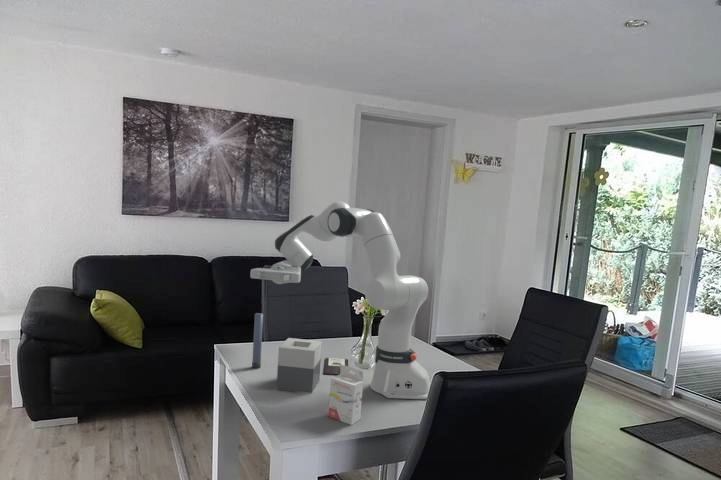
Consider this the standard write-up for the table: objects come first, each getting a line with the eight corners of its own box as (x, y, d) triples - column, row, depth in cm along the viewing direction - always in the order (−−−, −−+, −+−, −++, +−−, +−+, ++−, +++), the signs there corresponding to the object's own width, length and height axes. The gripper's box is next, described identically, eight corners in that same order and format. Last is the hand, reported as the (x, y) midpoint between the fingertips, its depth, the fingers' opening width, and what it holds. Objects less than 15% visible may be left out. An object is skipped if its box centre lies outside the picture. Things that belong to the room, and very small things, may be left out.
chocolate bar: (323, 373, 177) (325, 357, 195) (323, 375, 177) (325, 360, 195) (348, 374, 178) (348, 359, 196) (348, 377, 178) (347, 361, 196)
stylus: (261, 366, 181) (264, 313, 180) (258, 369, 178) (261, 315, 177) (253, 365, 182) (256, 312, 180) (250, 368, 179) (253, 314, 177)
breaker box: (319, 380, 171) (321, 341, 170) (312, 393, 159) (314, 351, 158) (286, 376, 172) (288, 337, 171) (276, 389, 161) (278, 347, 160)
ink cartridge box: (327, 417, 142) (330, 367, 141) (337, 411, 146) (340, 363, 145) (351, 425, 138) (355, 374, 137) (361, 419, 142) (364, 370, 141)
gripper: (256, 263, 204) (245, 267, 191) (304, 267, 202) (296, 271, 188) (255, 278, 205) (244, 283, 191) (303, 282, 203) (295, 287, 189)
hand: (270, 277), depth 190 cm, fingers open, 8 cm apart
